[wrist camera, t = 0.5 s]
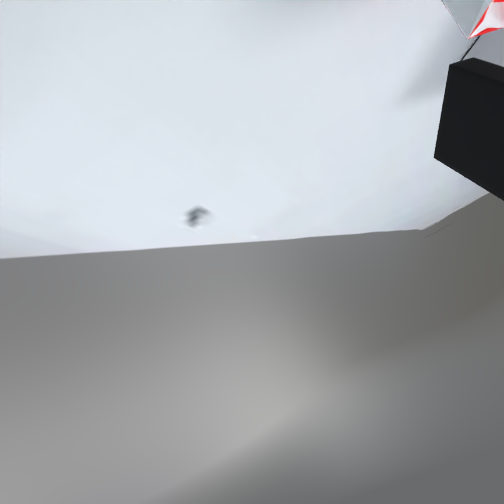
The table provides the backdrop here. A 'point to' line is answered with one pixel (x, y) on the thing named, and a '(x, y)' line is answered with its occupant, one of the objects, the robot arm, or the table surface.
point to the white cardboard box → (489, 48)
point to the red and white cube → (476, 15)
